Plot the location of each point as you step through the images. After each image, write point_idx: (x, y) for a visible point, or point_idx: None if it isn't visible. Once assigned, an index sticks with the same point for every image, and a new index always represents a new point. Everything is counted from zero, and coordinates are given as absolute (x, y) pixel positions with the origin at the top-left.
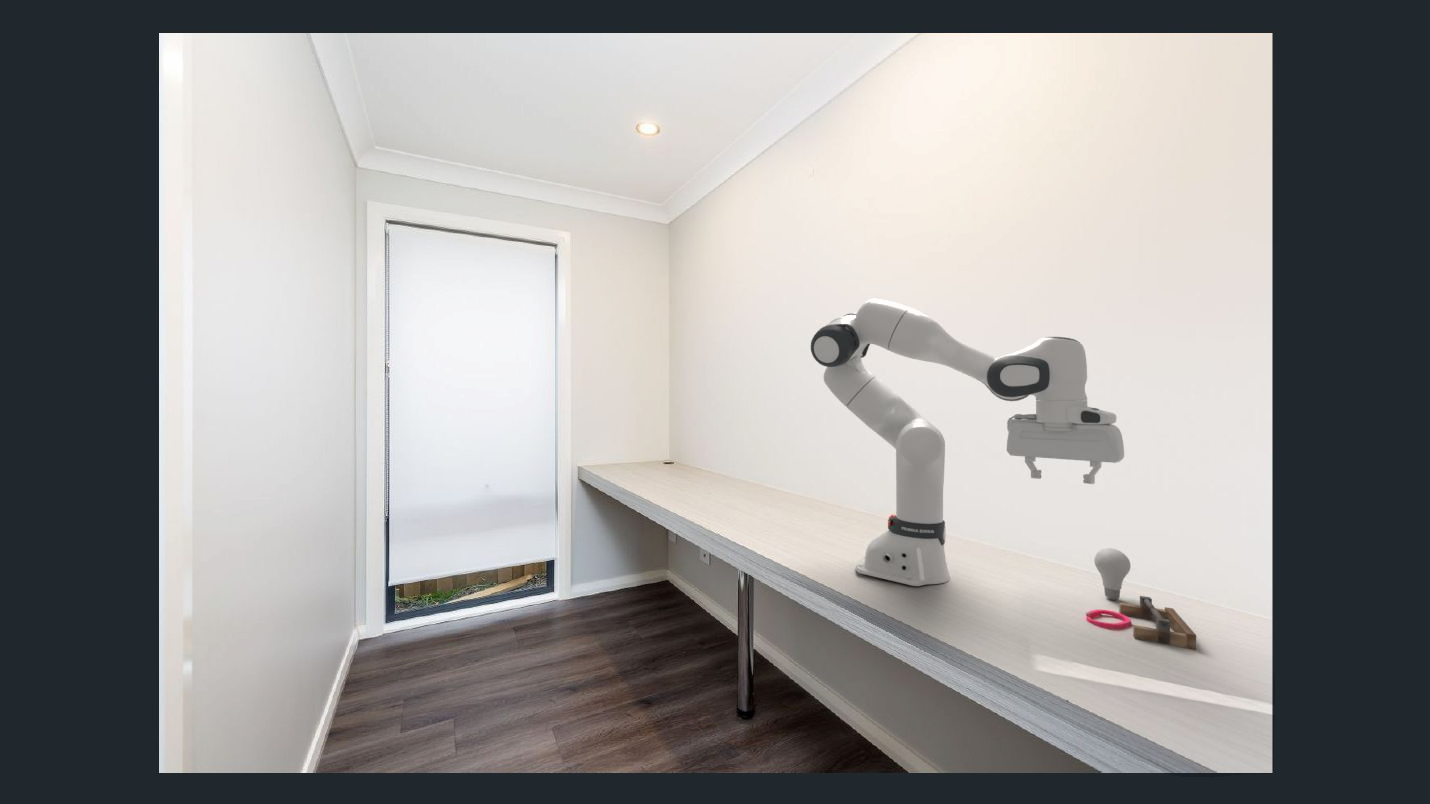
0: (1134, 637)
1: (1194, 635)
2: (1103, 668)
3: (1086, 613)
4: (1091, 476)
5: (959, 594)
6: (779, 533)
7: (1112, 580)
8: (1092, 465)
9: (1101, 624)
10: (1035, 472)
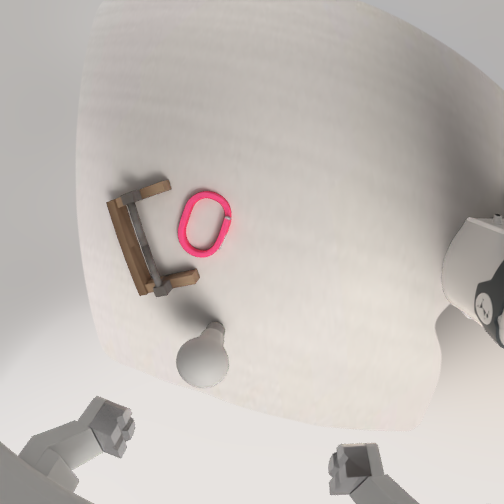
0: (169, 182)
1: (108, 202)
2: (190, 49)
3: (229, 217)
4: (80, 417)
5: (415, 185)
6: None
7: (205, 334)
8: (47, 454)
9: (207, 191)
10: (360, 467)
